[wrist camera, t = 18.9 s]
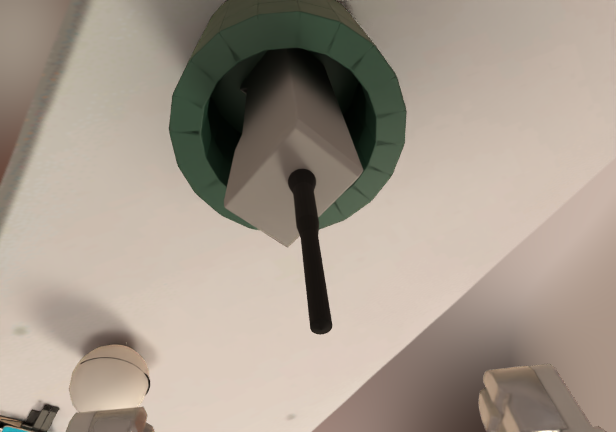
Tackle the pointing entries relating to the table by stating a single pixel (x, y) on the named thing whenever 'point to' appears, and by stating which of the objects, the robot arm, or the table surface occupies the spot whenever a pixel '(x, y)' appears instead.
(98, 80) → the table surface
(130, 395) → the cream domed seamed part
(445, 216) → the table surface
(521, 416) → the robot arm
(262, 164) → the vintage mobile phone
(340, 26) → the green hollow cylinder
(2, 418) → the phone stand
